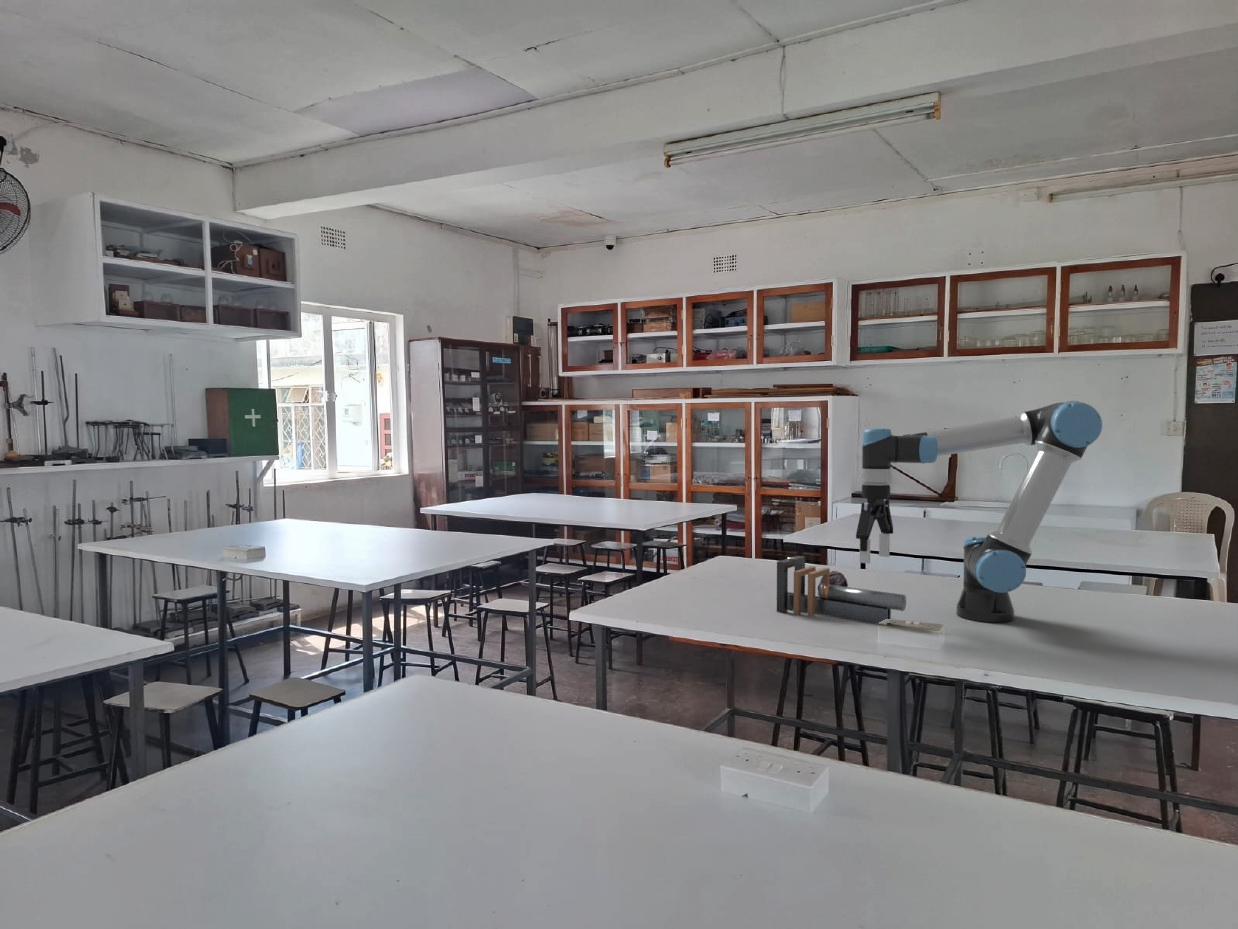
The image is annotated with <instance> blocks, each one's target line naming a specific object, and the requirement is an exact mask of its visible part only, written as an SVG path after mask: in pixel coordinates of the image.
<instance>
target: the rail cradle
mask: <svg viewBox="0 0 1238 929" xmlns="http://www.w3.org/2000/svg"><path fill="white" fill-rule="evenodd" d="M788 610H790V611H791V610H792V611H794V592H792V591H791V592H790V591H788ZM801 612H802V613H808V594H806V593H805V594H801ZM815 615H821V616H827V617H834V618H839V619H846V620H853V621H856V622H857V621H859V622H864V623H870V624H876V623H879V622H881V621H883V620H885V619H891V620H892V609H887V608H880V607H873V606H867V605H860V604H853V603H847V602H840V601H833V600H826V599H820V597H818V595H817V596H816V595H815Z"/></svg>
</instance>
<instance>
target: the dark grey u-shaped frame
mask: <svg viewBox="0 0 1238 929" xmlns="http://www.w3.org/2000/svg"><path fill="white" fill-rule="evenodd" d="M790 568H794V571H797V570H800V569H803V568H806V556H804V555H803V556H802V555H796V556H792V557H791V556H788V557H787V558H785V559H781V560H777V561H776V612H777V613H782V614H785V613H788V612H789V609H788V592H789V591H788V586H789V582H788V578H789V577H788V573H789V572H788V570H789V569H790ZM801 594H805V595H806V575H804V576H801Z"/></svg>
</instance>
